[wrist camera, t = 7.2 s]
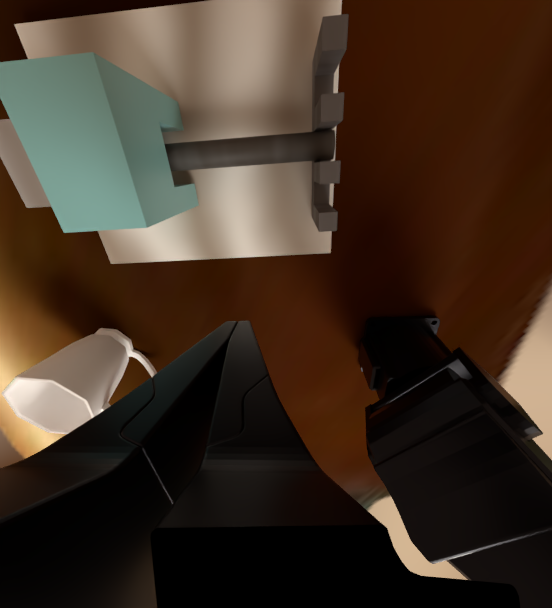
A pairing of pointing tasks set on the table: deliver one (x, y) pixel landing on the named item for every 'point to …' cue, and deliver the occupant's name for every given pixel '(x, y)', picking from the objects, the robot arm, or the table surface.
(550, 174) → the table surface
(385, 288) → the table surface
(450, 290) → the table surface
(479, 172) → the table surface
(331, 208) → the cord board
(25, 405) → the cup
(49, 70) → the teal block
